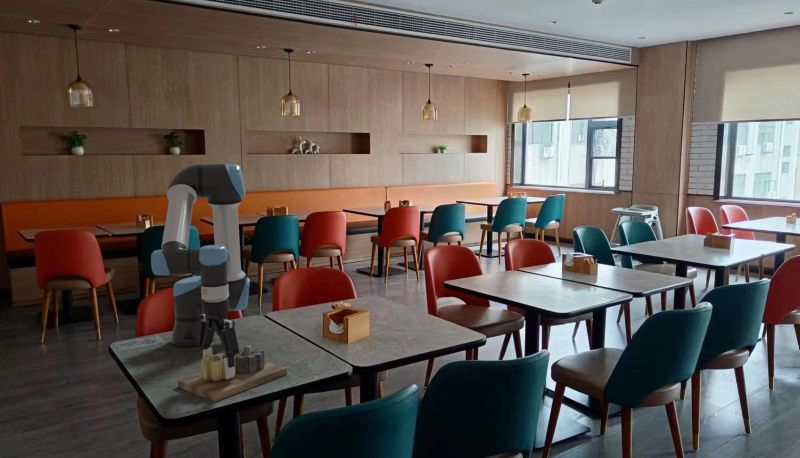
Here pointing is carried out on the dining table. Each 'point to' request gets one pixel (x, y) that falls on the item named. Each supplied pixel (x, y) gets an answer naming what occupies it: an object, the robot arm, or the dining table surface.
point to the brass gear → (214, 367)
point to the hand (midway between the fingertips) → (219, 373)
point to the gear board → (247, 376)
